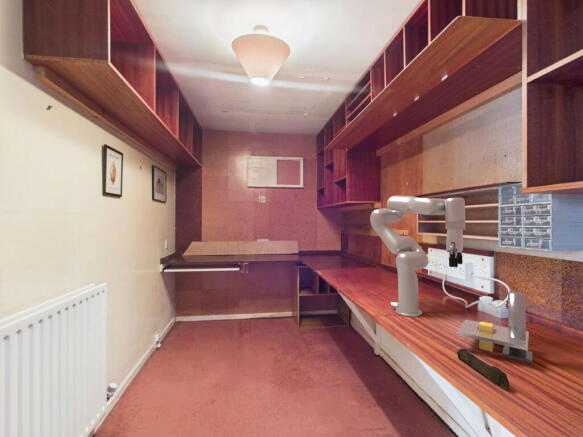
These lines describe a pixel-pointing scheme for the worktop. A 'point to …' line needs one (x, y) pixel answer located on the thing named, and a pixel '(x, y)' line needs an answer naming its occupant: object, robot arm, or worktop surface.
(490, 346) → the yellow block
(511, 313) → the gray plate with post
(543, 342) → the worktop surface
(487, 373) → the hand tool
